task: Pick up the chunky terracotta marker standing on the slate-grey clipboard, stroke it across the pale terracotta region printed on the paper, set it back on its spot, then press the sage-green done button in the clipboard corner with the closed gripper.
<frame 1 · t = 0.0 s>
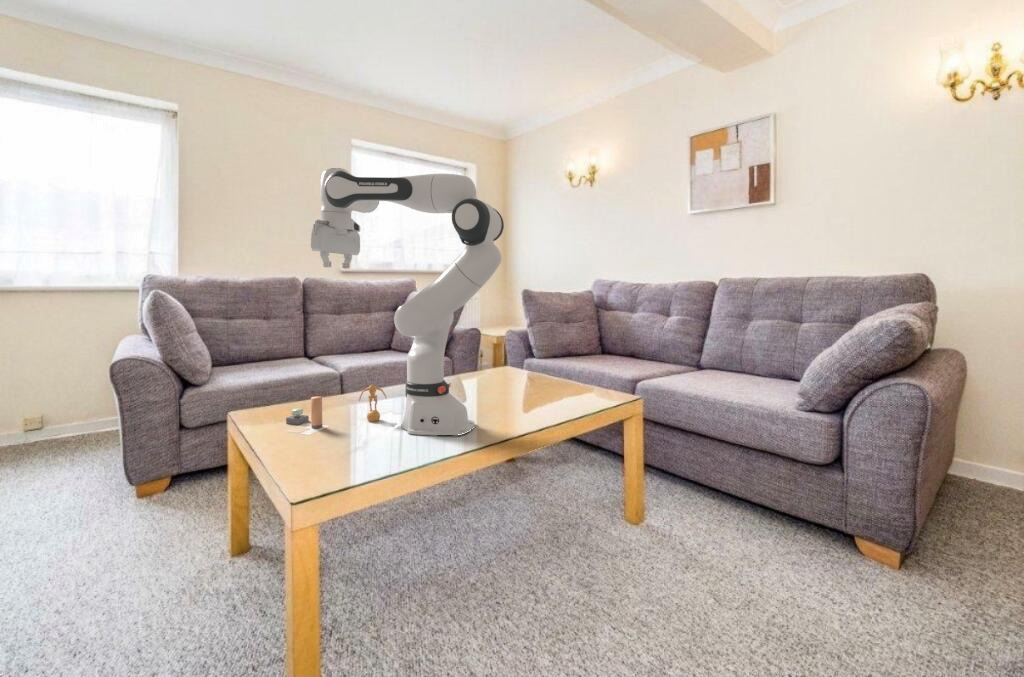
hand: (337, 268, 146), 48 cm above the table, fingers open, 8 cm apart
figurine: (373, 422, 147), on the table
done button: (297, 413, 142), point 3 cm above the table, slide at 0.0 cm
marker: (317, 427, 137), point 1 cm above the table, touching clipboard
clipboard: (302, 429, 137), on the table
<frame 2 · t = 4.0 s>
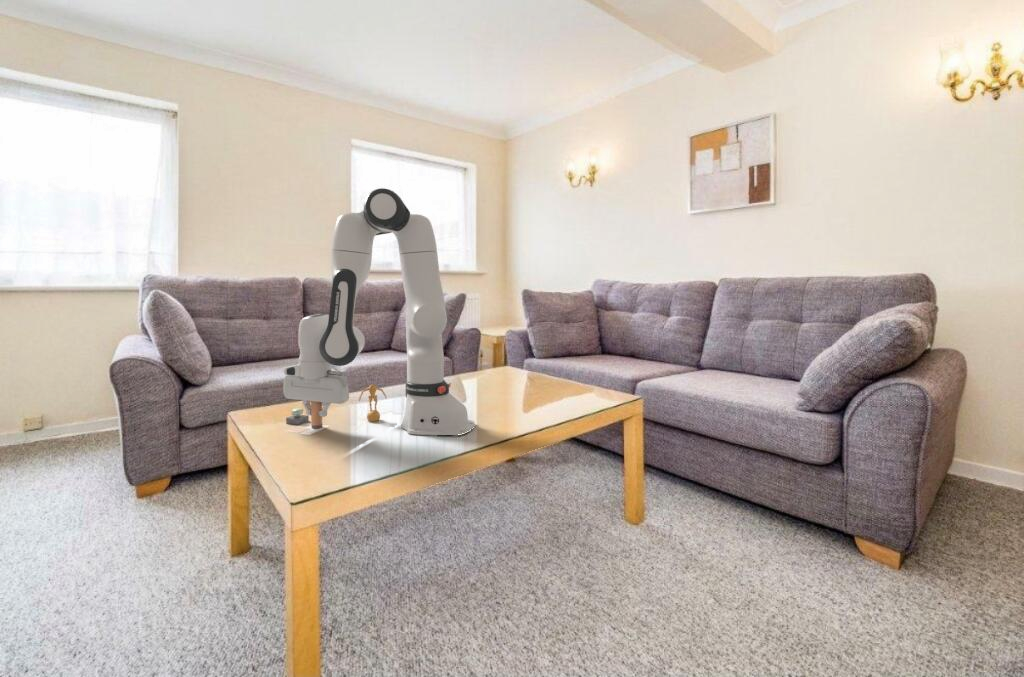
hand: (316, 415, 137), 4 cm above the table, fingers closed on marker, 3 cm apart
marker: (317, 427, 137), point 1 cm above the table, touching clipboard, gripper
everything else where it was.
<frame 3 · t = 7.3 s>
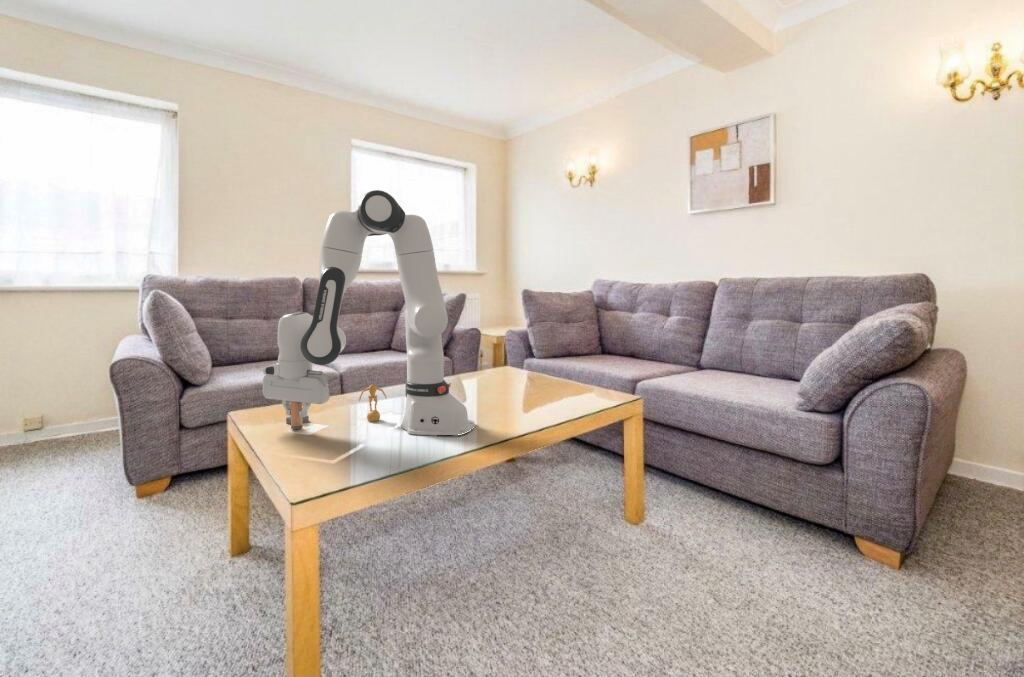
hand: (296, 415, 134), 5 cm above the table, fingers closed on marker, 3 cm apart
marker: (296, 428, 134), point 1 cm above the table, touching gripper
everything else where it was.
when the fingers open (5 cm above the table, at t = 11.0 s): marker stays where it is, resting on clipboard.
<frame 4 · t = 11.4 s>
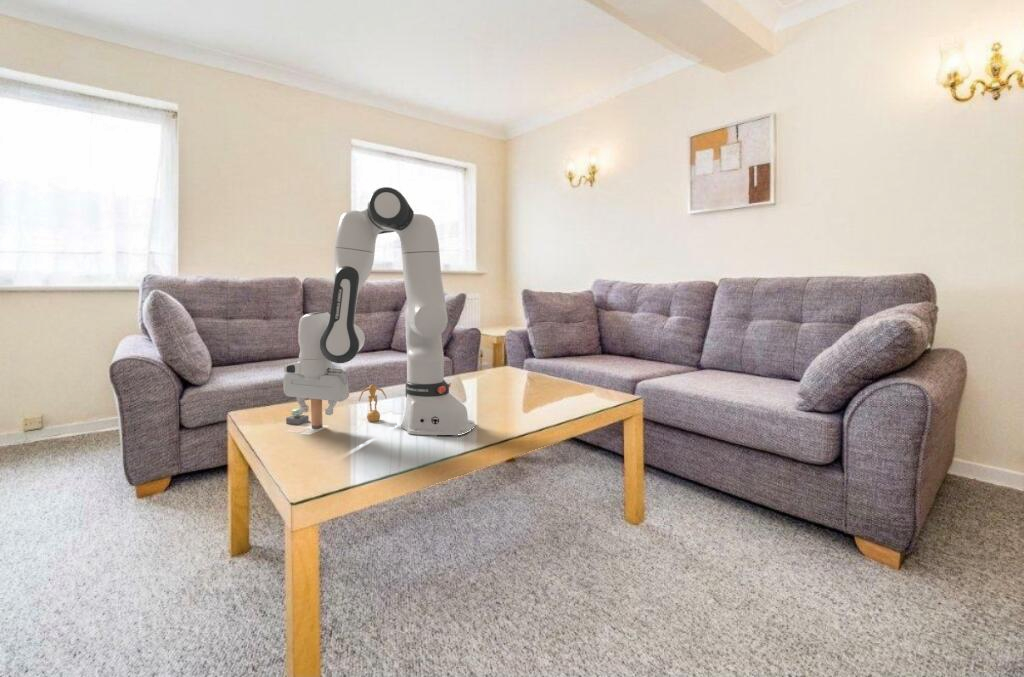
hand: (316, 413, 137), 5 cm above the table, fingers open, 7 cm apart
marker: (317, 427, 137), point 1 cm above the table, touching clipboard
everything else where it was.
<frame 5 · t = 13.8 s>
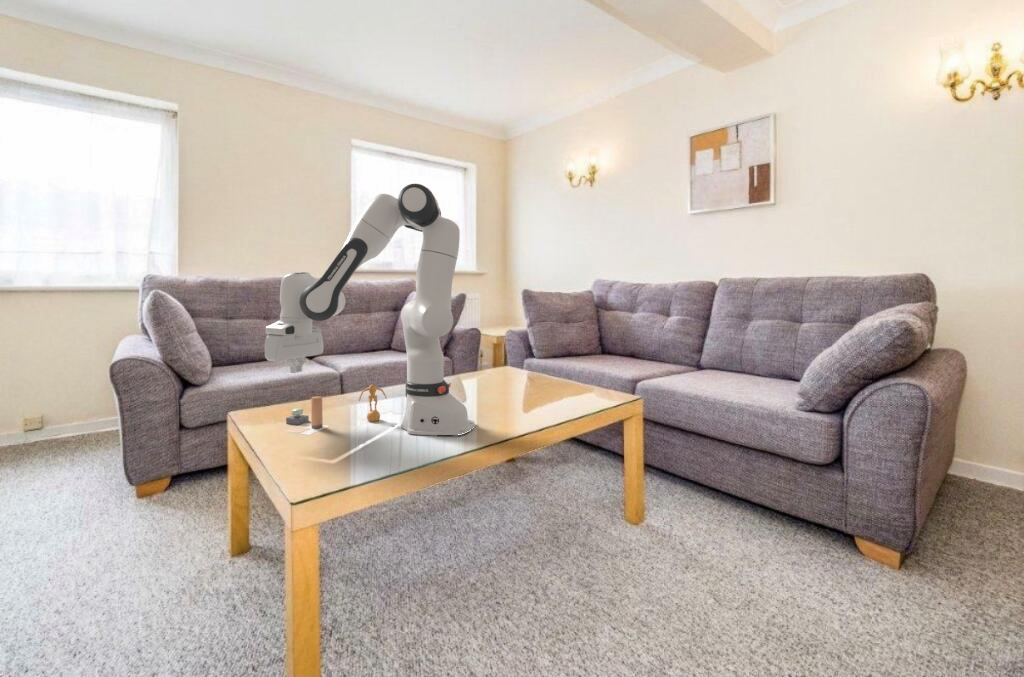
hand: (296, 372, 140), 16 cm above the table, fingers closed
nothing on the table moved.
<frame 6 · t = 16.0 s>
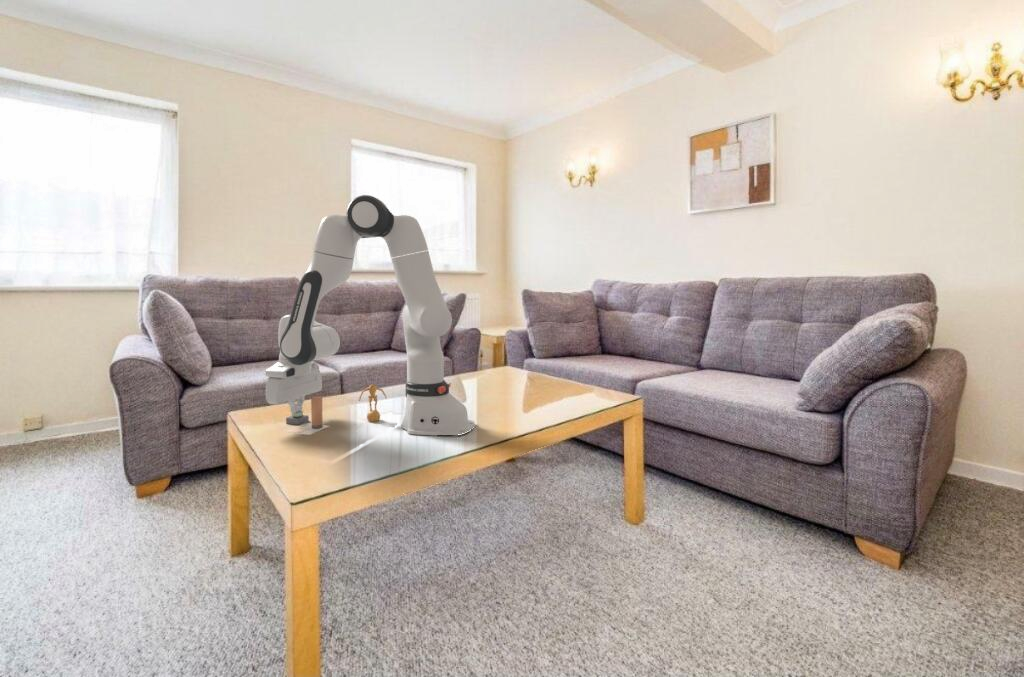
hand: (296, 411, 141), 4 cm above the table, fingers closed, pressing on done button
done button: (297, 415, 142), point 3 cm above the table, slide at 0.6 cm, touching gripper
everything else where it was.
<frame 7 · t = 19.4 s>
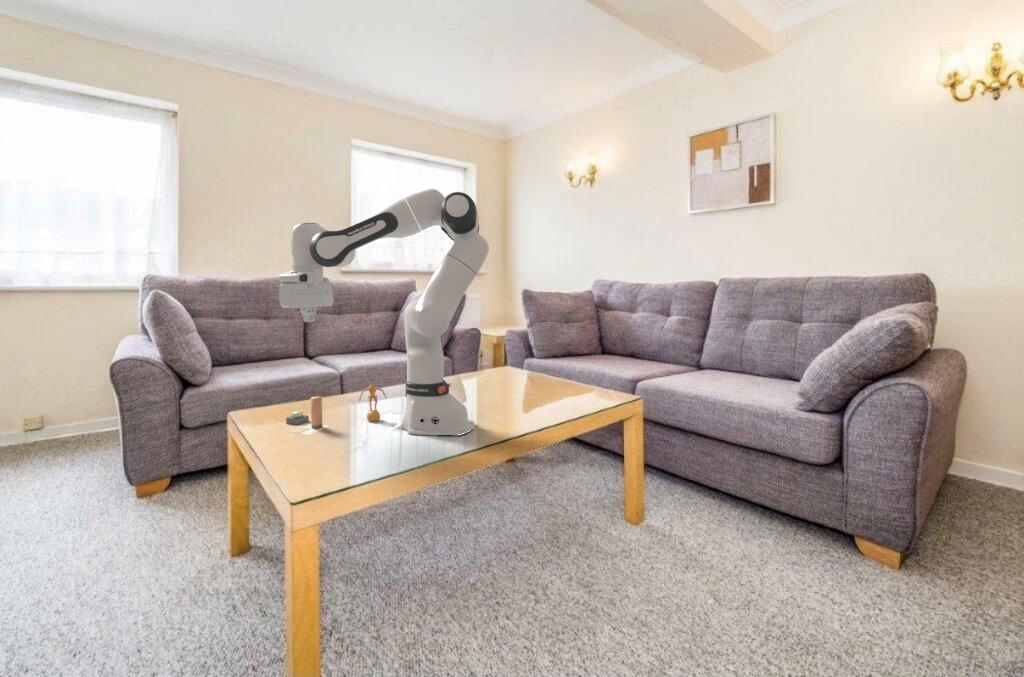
hand: (308, 321, 144), 31 cm above the table, fingers closed
done button: (297, 416, 142), point 2 cm above the table, slide at 0.9 cm
everything else where it was.
at the end: done button slide at 0.9 cm; marker inside the target area (0.1 cm from its centre), point 0.7 cm above the table; the gripper is holding nothing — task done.
